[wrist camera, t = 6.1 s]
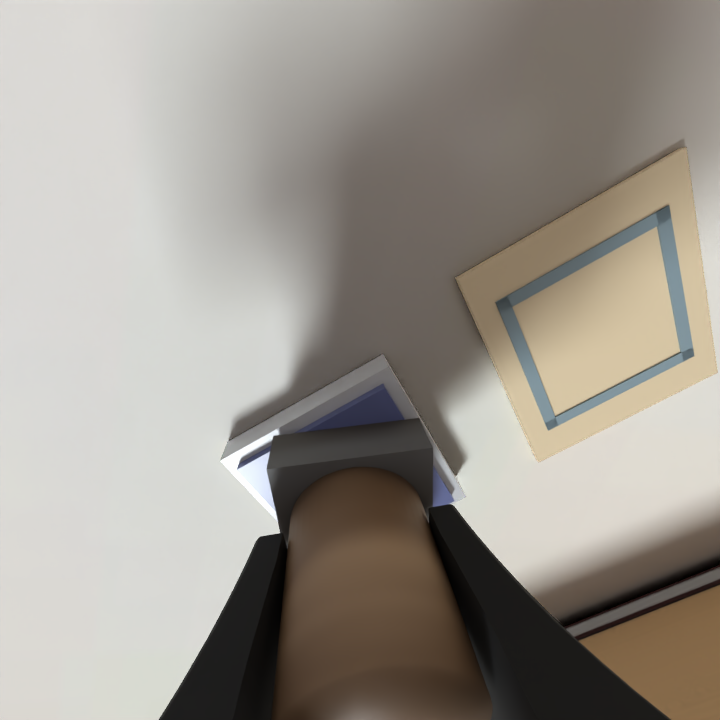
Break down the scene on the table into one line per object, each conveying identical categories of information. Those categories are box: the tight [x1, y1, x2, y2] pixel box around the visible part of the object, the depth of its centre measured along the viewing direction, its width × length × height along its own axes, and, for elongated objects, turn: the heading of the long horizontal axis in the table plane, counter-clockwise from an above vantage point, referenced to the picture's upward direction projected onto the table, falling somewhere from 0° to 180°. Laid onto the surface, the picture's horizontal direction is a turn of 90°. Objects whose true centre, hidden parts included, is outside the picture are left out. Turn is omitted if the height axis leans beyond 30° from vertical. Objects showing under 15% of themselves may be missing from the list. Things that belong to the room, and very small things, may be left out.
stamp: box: [266, 418, 493, 720], centre depth 9 cm, size 4×4×6 cm
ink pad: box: [220, 354, 466, 521], centre depth 12 cm, size 6×6×1 cm
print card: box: [455, 147, 718, 462], centre depth 12 cm, size 8×7×1 cm
